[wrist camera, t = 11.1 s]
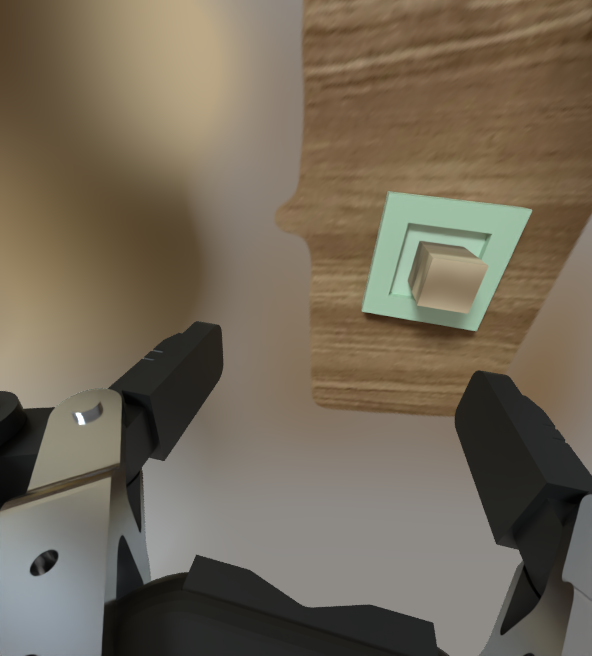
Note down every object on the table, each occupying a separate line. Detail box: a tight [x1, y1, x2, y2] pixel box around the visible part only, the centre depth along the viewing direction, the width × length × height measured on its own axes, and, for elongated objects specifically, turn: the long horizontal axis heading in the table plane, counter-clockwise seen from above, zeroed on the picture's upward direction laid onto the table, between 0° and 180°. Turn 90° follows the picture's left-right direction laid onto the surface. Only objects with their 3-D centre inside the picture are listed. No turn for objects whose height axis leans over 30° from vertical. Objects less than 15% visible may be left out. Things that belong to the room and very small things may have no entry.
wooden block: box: [408, 241, 489, 314], centre depth 29 cm, size 4×4×7 cm
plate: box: [362, 191, 532, 331], centre depth 32 cm, size 13×13×2 cm
